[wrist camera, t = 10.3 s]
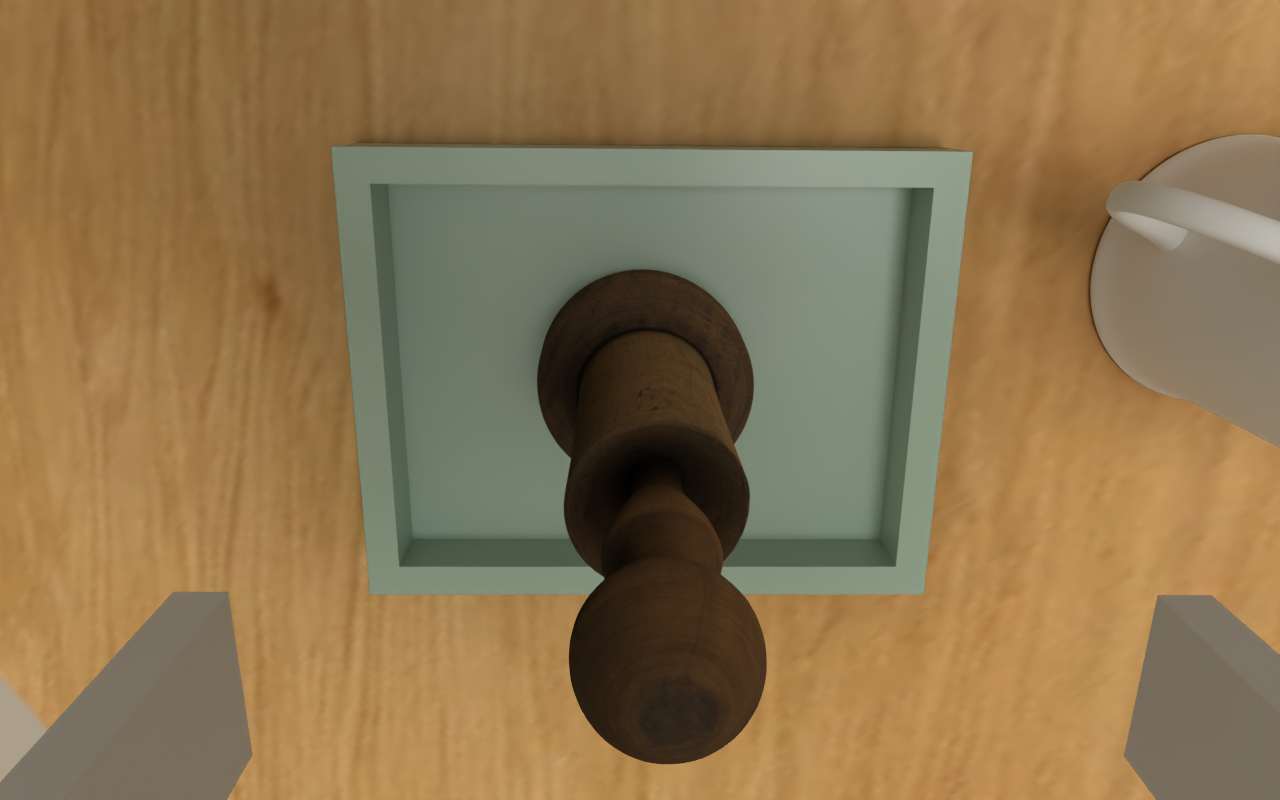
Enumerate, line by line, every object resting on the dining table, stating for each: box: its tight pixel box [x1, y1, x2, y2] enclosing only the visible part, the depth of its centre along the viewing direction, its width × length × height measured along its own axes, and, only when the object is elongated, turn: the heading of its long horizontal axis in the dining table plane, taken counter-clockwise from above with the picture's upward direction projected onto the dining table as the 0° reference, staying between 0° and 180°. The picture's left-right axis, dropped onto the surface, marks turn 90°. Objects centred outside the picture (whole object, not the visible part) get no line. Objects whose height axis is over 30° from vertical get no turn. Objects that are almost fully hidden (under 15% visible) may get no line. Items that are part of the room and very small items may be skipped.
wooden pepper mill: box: [537, 270, 767, 764], centre depth 22 cm, size 7×6×18 cm
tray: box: [331, 143, 973, 595], centre depth 30 cm, size 14×18×3 cm
